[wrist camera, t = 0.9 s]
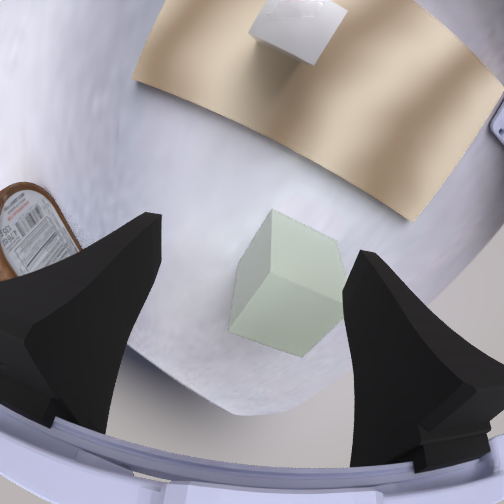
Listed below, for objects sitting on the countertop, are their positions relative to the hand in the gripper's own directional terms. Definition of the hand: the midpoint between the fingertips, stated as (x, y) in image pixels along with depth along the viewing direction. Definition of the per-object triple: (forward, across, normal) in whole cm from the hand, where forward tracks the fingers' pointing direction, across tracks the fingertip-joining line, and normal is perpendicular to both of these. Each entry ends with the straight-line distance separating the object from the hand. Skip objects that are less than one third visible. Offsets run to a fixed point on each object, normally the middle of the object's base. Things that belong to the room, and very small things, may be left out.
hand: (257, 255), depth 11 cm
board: (+10, -3, -7) cm, 12 cm away
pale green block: (+10, -3, +6) cm, 12 cm away
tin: (+10, +15, +9) cm, 20 cm away
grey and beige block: (+10, 0, -8) cm, 13 cm away
